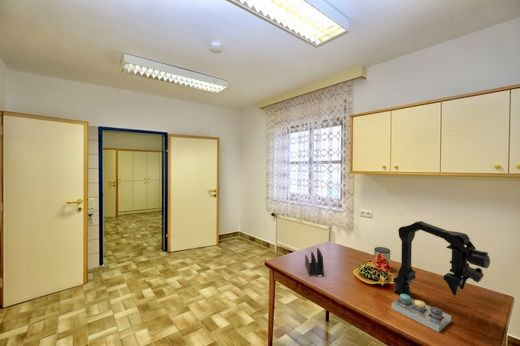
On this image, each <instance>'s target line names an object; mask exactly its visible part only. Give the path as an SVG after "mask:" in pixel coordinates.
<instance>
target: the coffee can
mask: <svg viewBox="0 0 520 346" xmlns="http://www.w3.org/2000/svg"><path fill="white" fill-rule="evenodd" d="M378 254H383V255H384V256H385V258H386V259H387V260H388V262H389V264H390V265H391V249H389V248H387V247H383V246H376V247H374V259H375V258H376V257H377V255H378Z"/></svg>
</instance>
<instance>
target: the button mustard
mask: <svg viewBox="0 0 520 346" xmlns="http://www.w3.org/2000/svg"><path fill="white" fill-rule="evenodd" d="M414 300H415V301H414V304H415V310H417V311H419V312H421V313H424V312H425V307H426V305H427V304H426V302H424V301H423V300H419V299H414Z"/></svg>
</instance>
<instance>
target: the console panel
mask: <svg viewBox="0 0 520 346" xmlns="http://www.w3.org/2000/svg"><path fill="white" fill-rule="evenodd" d="M415 300H416V299H414V298H412V297H410V305H409V306H406V305H404V304H402V303H400V297H399V298H398V299H396V300H394V301H393V302H391V310H393V311H396V312H397V313H399V314H402V315H403V316H406V317H408V318H409V319H411V320H413V321H416V322H417V323H420V324H422V325H423V326H426V327H428V328H430V329H431V330H434V332H435V331H436V332H437V333H440V332H441V331H442V330H443V329H445V328H446V326H448V325H449V324H450V323H451V322H452V315H451V314H448V313H447V312H444V311H442V320H441V321H439V320H437V319H434V318H432V317H431V311H430V308H431V307H432V306H430V305H427V304H426V307H425V312H424V313H421V312H419V311H417V310H415V304H414V301H415Z"/></svg>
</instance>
